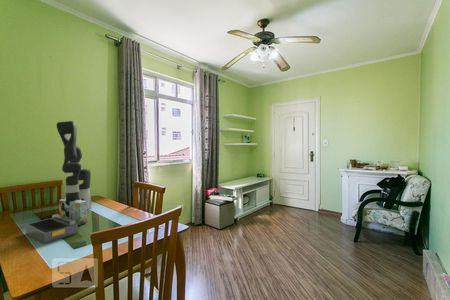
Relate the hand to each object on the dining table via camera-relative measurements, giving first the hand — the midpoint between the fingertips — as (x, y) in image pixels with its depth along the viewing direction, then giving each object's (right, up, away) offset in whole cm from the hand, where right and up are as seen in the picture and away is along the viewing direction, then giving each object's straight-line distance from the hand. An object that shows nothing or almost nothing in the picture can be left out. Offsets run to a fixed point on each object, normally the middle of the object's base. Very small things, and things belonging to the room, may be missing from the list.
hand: (72, 215), depth 144 cm
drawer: (0, -6, -17) cm, 18 cm away
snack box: (0, -5, 0) cm, 5 cm away
